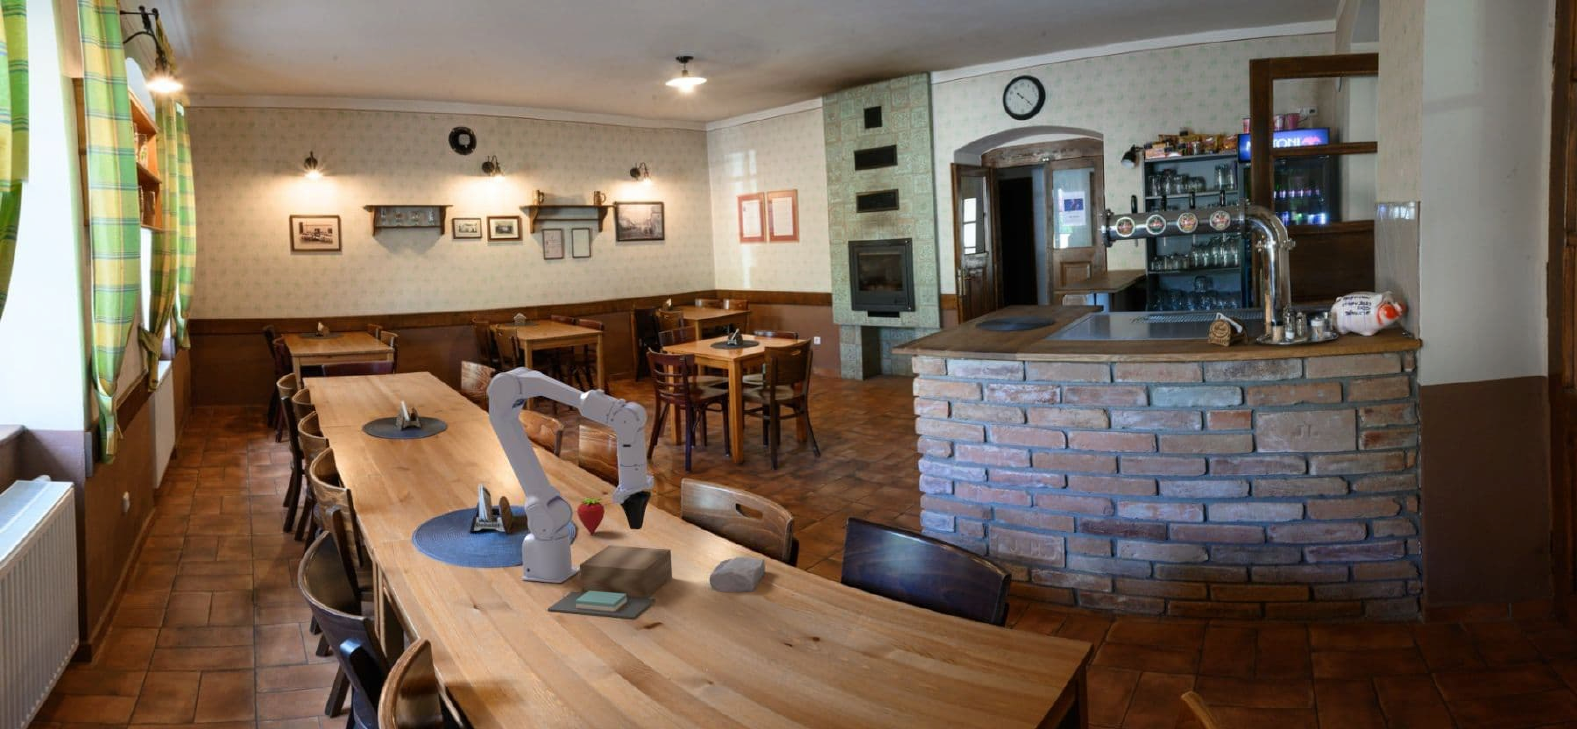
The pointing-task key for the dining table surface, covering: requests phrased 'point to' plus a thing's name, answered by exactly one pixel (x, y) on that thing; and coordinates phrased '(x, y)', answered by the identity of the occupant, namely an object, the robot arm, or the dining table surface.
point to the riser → (627, 571)
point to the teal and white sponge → (601, 601)
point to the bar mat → (625, 611)
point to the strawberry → (591, 513)
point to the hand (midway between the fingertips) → (636, 528)
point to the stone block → (737, 574)
